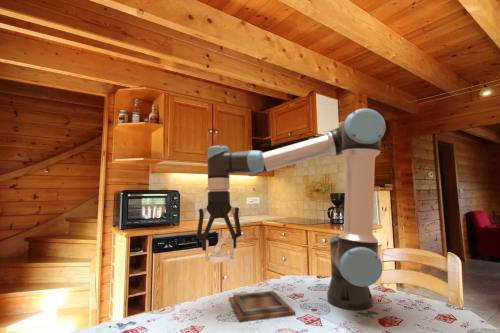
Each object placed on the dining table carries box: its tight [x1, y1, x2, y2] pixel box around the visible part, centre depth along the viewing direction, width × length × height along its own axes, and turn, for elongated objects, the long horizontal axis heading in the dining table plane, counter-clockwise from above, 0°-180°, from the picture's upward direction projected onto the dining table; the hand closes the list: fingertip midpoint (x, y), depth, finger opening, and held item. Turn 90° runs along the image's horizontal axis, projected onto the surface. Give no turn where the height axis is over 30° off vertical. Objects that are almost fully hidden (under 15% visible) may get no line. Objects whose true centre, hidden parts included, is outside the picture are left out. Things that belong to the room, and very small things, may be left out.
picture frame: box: [228, 290, 296, 323], centre depth 92 cm, size 18×18×2 cm
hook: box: [207, 229, 232, 264], centre depth 91 cm, size 8×12×7 cm
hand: (219, 259), depth 91 cm, fingers closed on hook, 8 cm apart
